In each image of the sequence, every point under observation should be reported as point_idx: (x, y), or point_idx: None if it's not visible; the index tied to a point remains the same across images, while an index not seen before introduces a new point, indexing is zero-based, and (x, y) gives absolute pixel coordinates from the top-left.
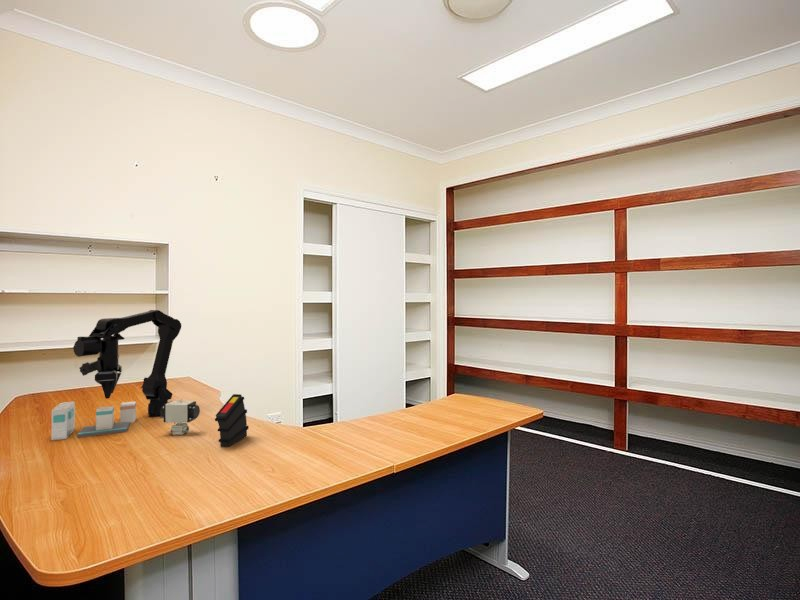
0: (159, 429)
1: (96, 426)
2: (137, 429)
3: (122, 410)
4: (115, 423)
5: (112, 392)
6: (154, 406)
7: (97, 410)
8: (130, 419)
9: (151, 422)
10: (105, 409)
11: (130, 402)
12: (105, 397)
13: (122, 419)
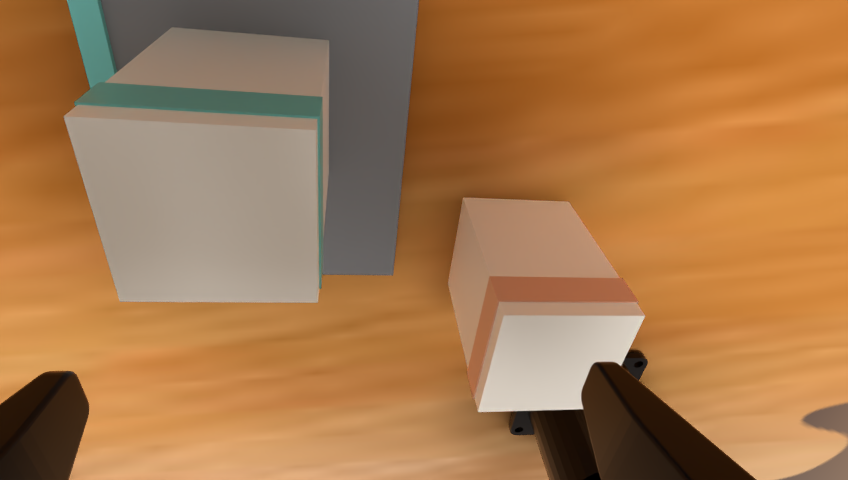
0: (143, 413)
1: (156, 44)
2: (197, 312)
3: (483, 288)
4: (393, 181)
5: (585, 405)
6: (561, 438)
7: (72, 135)
8: (456, 278)
9: (370, 369)
10: (103, 236)
11: (582, 378)
12: (26, 388)
13: (466, 232)
